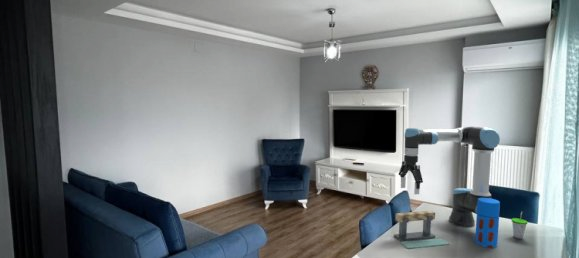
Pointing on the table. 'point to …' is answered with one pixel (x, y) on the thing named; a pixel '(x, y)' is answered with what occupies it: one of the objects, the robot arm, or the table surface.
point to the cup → (519, 227)
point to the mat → (424, 243)
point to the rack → (416, 235)
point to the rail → (414, 216)
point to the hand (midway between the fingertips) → (409, 190)
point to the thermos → (487, 222)
